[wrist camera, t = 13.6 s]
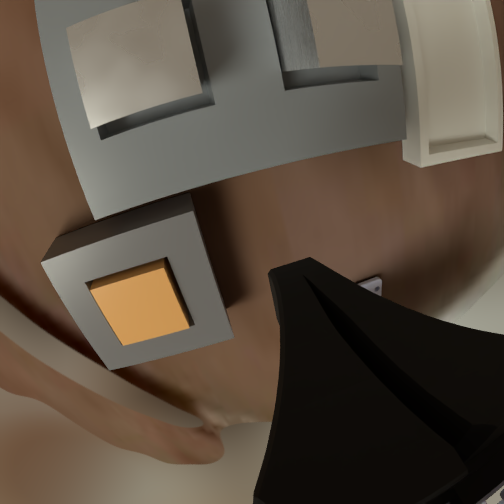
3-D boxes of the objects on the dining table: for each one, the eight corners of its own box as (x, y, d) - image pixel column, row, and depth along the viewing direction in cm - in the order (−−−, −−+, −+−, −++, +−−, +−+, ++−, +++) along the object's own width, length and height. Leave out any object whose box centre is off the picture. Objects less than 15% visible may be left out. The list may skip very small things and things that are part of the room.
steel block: (337, 66, 15) (402, 64, 10) (271, 73, 15) (319, 67, 10) (325, 4, 13) (387, -20, 8) (258, 7, 13) (300, -27, 8)
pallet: (382, 131, 19) (406, 139, 17) (104, 202, 17) (94, 220, 15) (349, -48, 12) (371, -60, 10) (50, 1, 10) (33, -10, 8)
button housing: (226, 309, 23) (234, 337, 20) (113, 340, 22) (109, 370, 19) (189, 192, 18) (193, 210, 15) (55, 238, 17) (40, 262, 14)
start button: (186, 297, 21) (189, 328, 18) (126, 315, 20) (123, 345, 18) (164, 241, 18) (163, 267, 16) (98, 262, 18) (89, 290, 15)
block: (192, 93, 15) (202, 93, 10) (118, 115, 14) (90, 129, 9) (176, 24, 13) (178, -10, 8) (101, 47, 12) (65, 27, 7)
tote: (485, 144, 21) (502, 150, 20) (402, 160, 20) (420, 167, 18) (467, -21, 13) (484, -23, 11) (370, -48, 12) (387, -56, 10)
